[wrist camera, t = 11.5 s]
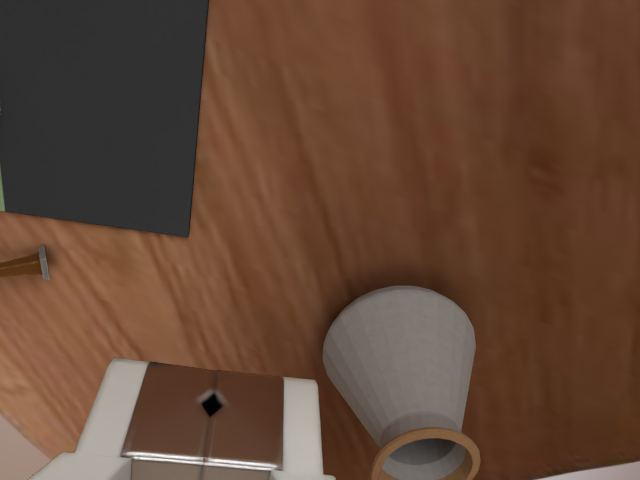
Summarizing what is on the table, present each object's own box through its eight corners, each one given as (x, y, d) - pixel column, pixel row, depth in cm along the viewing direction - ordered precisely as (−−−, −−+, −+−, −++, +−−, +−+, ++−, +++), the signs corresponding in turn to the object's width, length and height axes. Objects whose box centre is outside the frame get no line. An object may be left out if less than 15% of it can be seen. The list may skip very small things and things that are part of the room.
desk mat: (-241, -125, 27) (-248, -125, 27) (211, -31, 30) (210, -30, 30) (-157, 185, 35) (-161, 188, 35) (189, 234, 38) (188, 237, 38)
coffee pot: (298, 296, 41) (301, 469, 29) (444, 246, 40) (517, 407, 27) (383, 462, 52) (413, 643, 39) (502, 428, 50) (574, 606, 37)
